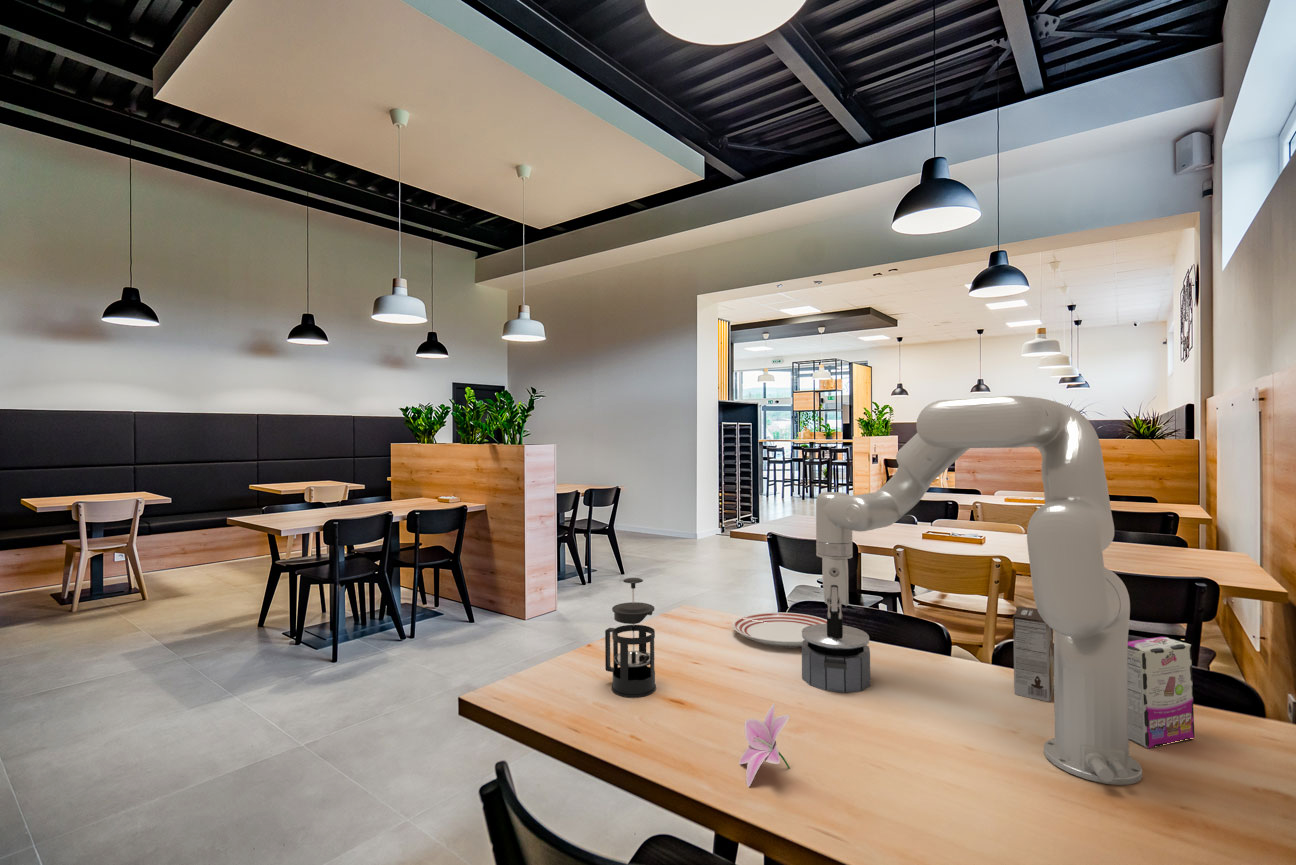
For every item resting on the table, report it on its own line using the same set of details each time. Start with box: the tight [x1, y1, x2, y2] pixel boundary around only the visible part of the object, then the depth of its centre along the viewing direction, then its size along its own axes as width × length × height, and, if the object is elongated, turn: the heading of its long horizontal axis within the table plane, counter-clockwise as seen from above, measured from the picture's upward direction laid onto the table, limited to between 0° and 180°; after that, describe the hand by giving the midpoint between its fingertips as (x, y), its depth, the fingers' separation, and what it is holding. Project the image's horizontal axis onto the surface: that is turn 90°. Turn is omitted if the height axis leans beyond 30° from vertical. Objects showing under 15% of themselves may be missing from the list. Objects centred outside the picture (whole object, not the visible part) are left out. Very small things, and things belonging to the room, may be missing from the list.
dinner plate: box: [731, 611, 827, 649], centre depth 159 cm, size 28×27×3 cm
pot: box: [801, 640, 871, 694], centre depth 131 cm, size 17×14×7 cm
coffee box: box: [1012, 606, 1054, 703], centre depth 124 cm, size 9×6×16 cm
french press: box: [604, 577, 657, 699], centre depth 127 cm, size 12×9×23 cm
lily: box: [738, 703, 791, 788], centre depth 95 cm, size 12×12×10 cm
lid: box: [802, 611, 870, 650], centre depth 131 cm, size 14×14×6 cm
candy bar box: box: [1127, 636, 1196, 749], centre depth 104 cm, size 11×5×16 cm, turn 105°
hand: (834, 633), depth 131 cm, fingers closed on lid, 3 cm apart
